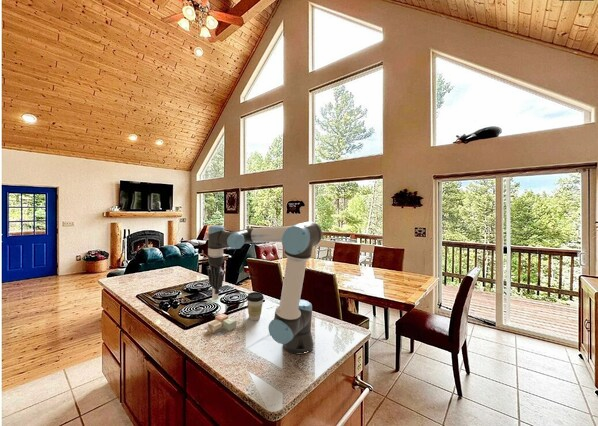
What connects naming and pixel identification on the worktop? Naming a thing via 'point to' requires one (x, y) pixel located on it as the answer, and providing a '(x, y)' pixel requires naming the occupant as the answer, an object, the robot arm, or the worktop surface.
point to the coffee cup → (255, 305)
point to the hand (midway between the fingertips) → (215, 299)
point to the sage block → (229, 324)
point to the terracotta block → (221, 318)
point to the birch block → (215, 326)
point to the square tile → (219, 331)
